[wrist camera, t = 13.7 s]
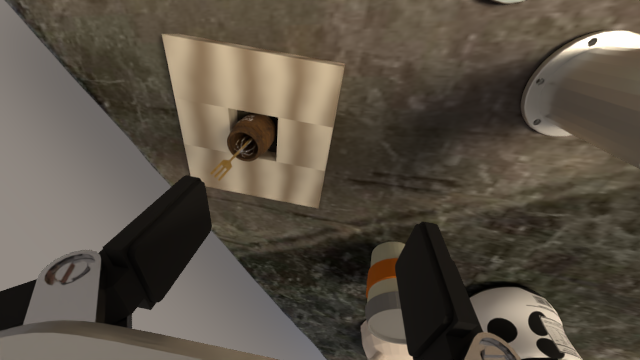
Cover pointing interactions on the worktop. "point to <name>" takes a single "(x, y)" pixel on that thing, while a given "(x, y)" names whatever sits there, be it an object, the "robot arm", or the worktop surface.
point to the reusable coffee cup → (384, 295)
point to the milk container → (523, 322)
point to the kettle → (382, 347)
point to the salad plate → (507, 1)
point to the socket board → (257, 97)
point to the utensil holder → (248, 140)
